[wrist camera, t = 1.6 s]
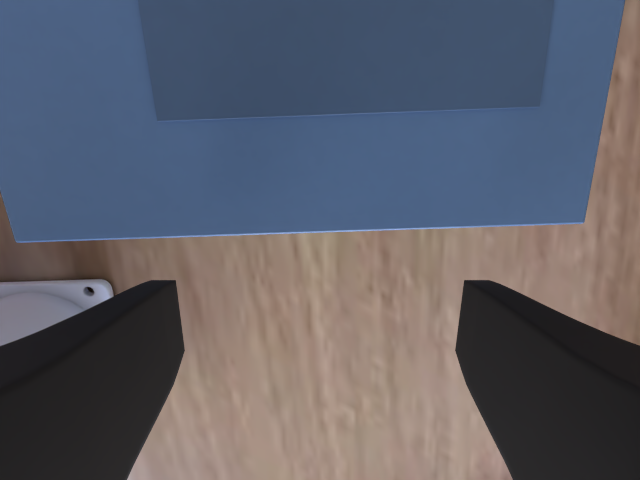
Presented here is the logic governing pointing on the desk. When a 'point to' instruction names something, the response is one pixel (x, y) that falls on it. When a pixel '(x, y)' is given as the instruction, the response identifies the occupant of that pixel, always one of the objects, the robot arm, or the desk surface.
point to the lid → (298, 115)
